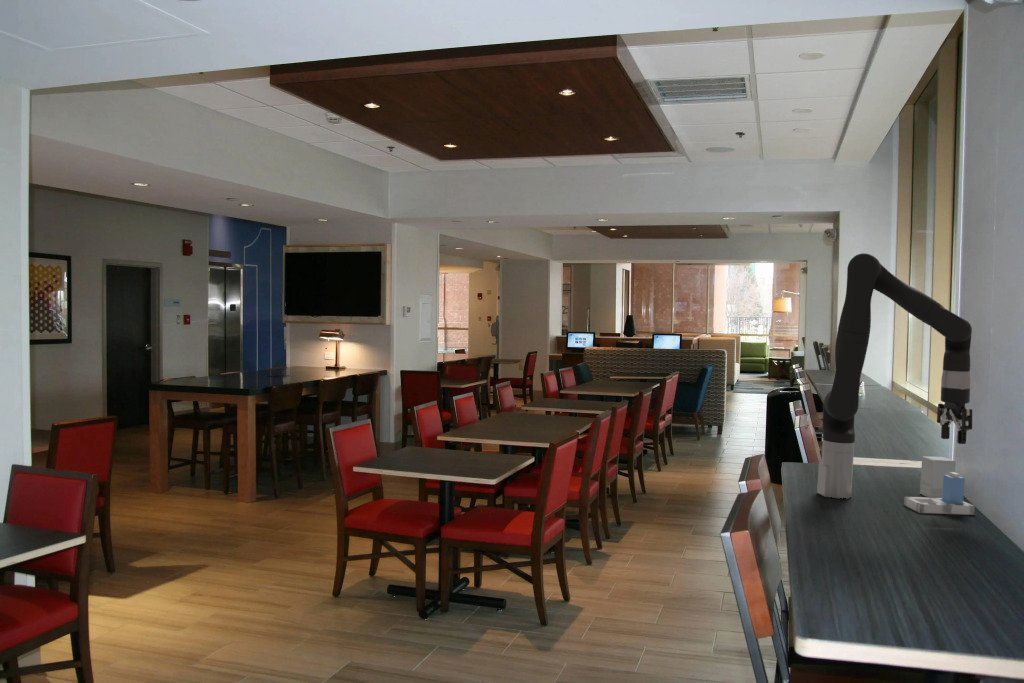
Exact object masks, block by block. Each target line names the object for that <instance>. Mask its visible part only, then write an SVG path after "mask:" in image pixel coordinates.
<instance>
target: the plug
mask: <svg viewBox="0 0 1024 683" xmlns="http://www.w3.org/2000/svg"><path fill="white" fill-rule="evenodd" d="M965 479H966V478H965V477H963V476H960V473H958V472H956V471H955V472H949V475H944V478H943V493H942V501H943V502H946V503H948V504H963V501H964V493H965V481H966V480H965Z"/></svg>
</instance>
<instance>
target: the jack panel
mask: <svg viewBox="0 0 1024 683" xmlns="http://www.w3.org/2000/svg"><path fill="white" fill-rule="evenodd" d="M903 500H904V501H903V505H904V506H905V507H906V508H909V509H911V510H913V511H915V512H917V513H919V514H941V515H943V514H945V515H967V516H968V515H971V516H974V515H975V505H973V504H971V503H969V502H966V501H964V500H963V504H948V503H946V502H943V501H942V498H928V497H926V496H924V497H923V496H904V498H903Z"/></svg>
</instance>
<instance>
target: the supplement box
mask: <svg viewBox="0 0 1024 683" xmlns="http://www.w3.org/2000/svg"><path fill="white" fill-rule="evenodd" d="M956 463H957V462H956V460H953V459H951V458H948V457H945V456H925V455H923V456H922V457H921V466H920V467H921V472H920V484H919V485H920V487H919V495H920V494H922V495H921V496H924V497H927V498H942V493H943V478H944V475H949V472H955V473H956Z"/></svg>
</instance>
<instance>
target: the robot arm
mask: <svg viewBox="0 0 1024 683" xmlns="http://www.w3.org/2000/svg"><path fill="white" fill-rule="evenodd" d="M846 268H847V271H846V275H847V276H846V287H845V288H846V290H845V291H846V292H845V299H844V302H843V306H842V310H841V314H840V317H839V322H838V326H837V327H838V328H837V331H836V332H837V333H836V338H835V346H834V347H835V350H834V361H835V362H834V365H835V368H834V369H835V371H834V372H835V373H834V377H833V378H834V379H833V382H832V383H833V384H832V387H831V390H830V391H829V392H828V393H827V394H826V395H825V397H824V400H823V410H822V446H821V462H818V468H817V469H818V473H817V486H816V489H817V490H816V493H817V494H819V495H821V496H822V497H824V498H831V497H832V499H833V498H834V499H840V498H842V499H843V498H846V499H850V497H851V498H852V490H853V471H854V454H855V438H856V434H855V415H856V414H857V412H858V410H859V403H860V402H859V401H860V400H859V398H860V384H861V376H862V371H863V368H864V365H865V364H864V363H865V360H866V355H867V350H868V347H869V341H870V340H869V339H870V335H871V324H872V313H871V312H872V311H871V310H872V309H871V308H872V307H871V306H872V297H873V293H874V291H877V292H878V293H880V294H882V295H884V296H885V297H887V298H888V299H890V300H891V301H893V302H894V303H896V304H897V305H898V306H899V307H900V308H902V309H903V310H904V311H906V312H908V314H910V315H912V316H913V317H914V318H916V319H918V320H919V321H920V322H922V323H924V324H926V325H927V326H930V327H931V328H933V330H934V331H936V332H938V333H939V334H940V335H941V336H943V337H944V353H943V359H942V360H943V361H942V362H943V363H942V375H941V380H940V381H941V384H940V401H941V402H942V403H941V402H940V403H938V404H937V414H936V415H937V416H936V422H937V424H939V425H940V426H941V428H940V429H941V430H940V434H941V435H940V438H941V439H943V440H949V439H950V434H951V433H950V432H951V427H950V425H951V424H952V422H953V424H954V425H956V427H957V436H956V438H957V444H958V445H966V443H967V433H968V431H969V430H971V431H972V429H973V409H972V408H966V404H969V403H970V399H971V396H970V395H971V352H970V351H971V344H972V343H971V342H972V333H973V332H972V331H973V330H972V329H973V327H972V325H971V324H970V322H969V321H968V320H966V319H964V318H962V317H961V316H959V315H957V314H955V313H953V312H952V311H950V310H949V309H948V308H945V306H943V305H942V304H941V303H940V302H938V301H937V300H935V299H933V298H932V297H930V296H929V295H928V294H926V293H924V292H923V291H920V290H919V289H917V288H915V287H913V286H911V285H910V284H908V283H906V282H904V281H903V280H901V279H900V278H898V277H897V276H895V275H894V274H893V273H892V272H890V271H889V270H888V269H887V268H886V267H885V266H883V265H882V264H881V262H880V260H879V259H878V258H876V256H874V255H872V254H871V253H868V252H867V253H866V252H864V253H863V252H861V253H857V254H856V255H854V256H853V257H852V258H851V259H850V261H849V262H848V264H847V267H846ZM842 499H841V500H842Z"/></svg>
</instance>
